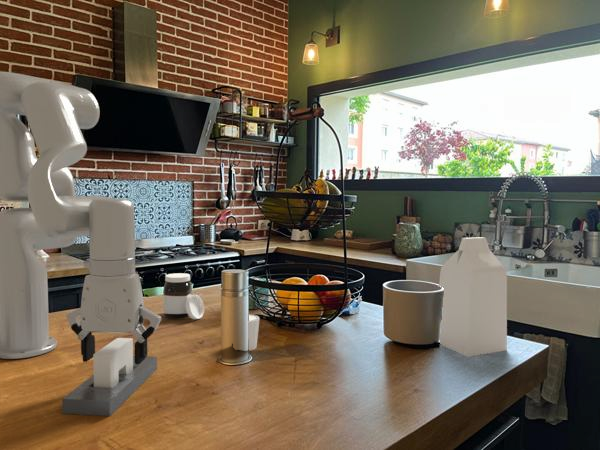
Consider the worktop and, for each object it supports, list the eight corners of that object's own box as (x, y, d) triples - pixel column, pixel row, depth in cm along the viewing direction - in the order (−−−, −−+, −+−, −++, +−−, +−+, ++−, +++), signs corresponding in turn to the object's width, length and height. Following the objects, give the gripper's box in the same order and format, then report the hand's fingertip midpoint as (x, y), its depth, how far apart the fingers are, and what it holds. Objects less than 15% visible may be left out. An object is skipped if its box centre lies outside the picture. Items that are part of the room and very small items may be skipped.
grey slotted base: (62, 413, 77) (62, 398, 77) (119, 366, 97) (118, 354, 97) (109, 416, 77) (109, 401, 76) (157, 368, 97) (156, 356, 96)
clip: (94, 399, 83) (93, 354, 82) (118, 378, 92) (117, 337, 91) (110, 400, 82) (109, 355, 82) (133, 379, 91) (132, 338, 91)
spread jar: (167, 311, 140) (166, 272, 139) (206, 310, 141) (206, 271, 140) (159, 322, 128) (159, 280, 127) (202, 322, 130) (202, 280, 129)
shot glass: (254, 353, 106) (254, 322, 106) (225, 350, 108) (225, 320, 107) (262, 343, 113) (263, 314, 112) (235, 341, 114) (235, 312, 114)
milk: (471, 335, 122) (475, 234, 119) (506, 350, 111) (512, 239, 109) (433, 341, 117) (437, 236, 115) (466, 356, 106) (472, 241, 104)
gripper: (54, 269, 82) (57, 366, 83) (151, 272, 81) (152, 370, 82) (78, 262, 89) (80, 351, 91) (167, 265, 88) (168, 355, 90)
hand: (114, 360), depth 86 cm, fingers open, 9 cm apart
